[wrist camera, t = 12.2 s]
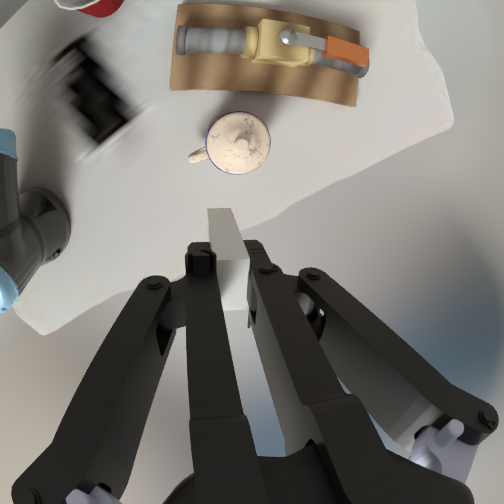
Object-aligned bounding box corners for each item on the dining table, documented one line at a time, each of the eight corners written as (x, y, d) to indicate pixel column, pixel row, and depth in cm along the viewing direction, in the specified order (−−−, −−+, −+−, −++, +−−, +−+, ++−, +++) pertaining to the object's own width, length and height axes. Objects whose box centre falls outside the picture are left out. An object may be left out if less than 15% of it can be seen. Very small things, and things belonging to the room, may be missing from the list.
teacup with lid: (247, 105, 41) (264, 101, 31) (264, 153, 45) (285, 165, 35) (179, 131, 41) (173, 135, 31) (199, 178, 45) (200, 198, 35)
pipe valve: (170, 90, 37) (164, 84, 29) (178, 8, 30) (175, -13, 22) (350, 106, 43) (377, 107, 36) (354, 33, 36) (380, 24, 28)
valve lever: (276, 46, 30) (280, 43, 28) (277, 28, 28) (282, 25, 26) (361, 66, 32) (368, 65, 31) (362, 50, 31) (369, 49, 29)
